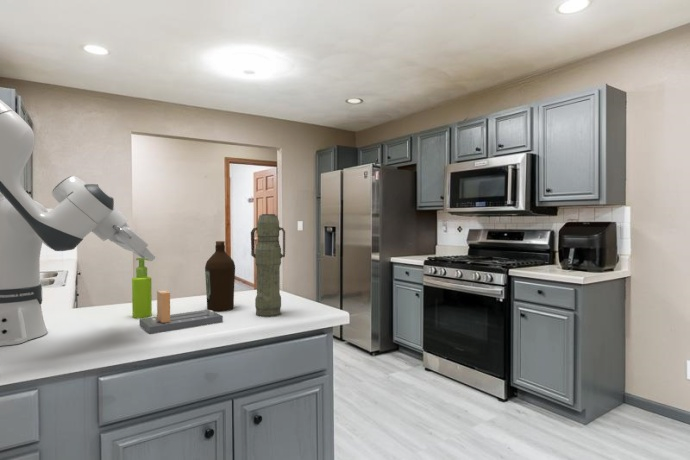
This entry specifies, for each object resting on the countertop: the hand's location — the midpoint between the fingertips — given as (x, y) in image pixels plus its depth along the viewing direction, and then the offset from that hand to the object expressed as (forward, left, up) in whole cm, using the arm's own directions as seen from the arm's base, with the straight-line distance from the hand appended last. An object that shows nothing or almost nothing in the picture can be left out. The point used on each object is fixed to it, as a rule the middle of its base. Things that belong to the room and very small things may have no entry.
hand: (149, 258), depth 123 cm
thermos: (+38, -3, -22) cm, 44 cm away
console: (+10, +2, -22) cm, 24 cm away
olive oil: (+28, +15, -22) cm, 39 cm away
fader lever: (+4, 0, -19) cm, 20 cm away
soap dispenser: (+3, +20, -22) cm, 30 cm away
